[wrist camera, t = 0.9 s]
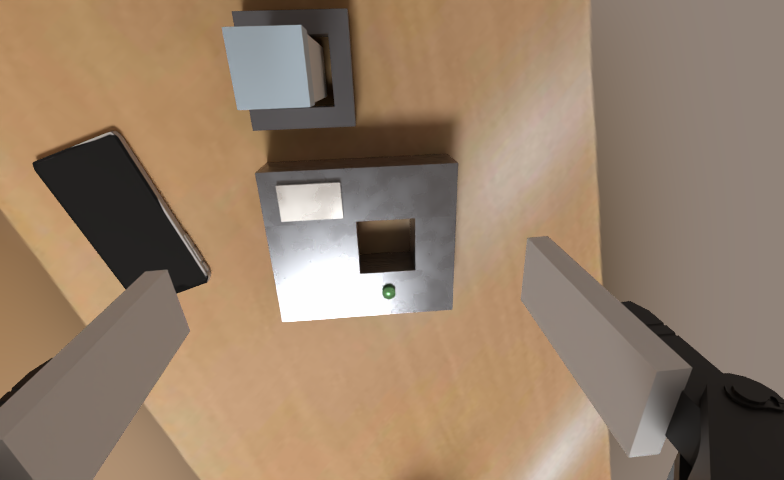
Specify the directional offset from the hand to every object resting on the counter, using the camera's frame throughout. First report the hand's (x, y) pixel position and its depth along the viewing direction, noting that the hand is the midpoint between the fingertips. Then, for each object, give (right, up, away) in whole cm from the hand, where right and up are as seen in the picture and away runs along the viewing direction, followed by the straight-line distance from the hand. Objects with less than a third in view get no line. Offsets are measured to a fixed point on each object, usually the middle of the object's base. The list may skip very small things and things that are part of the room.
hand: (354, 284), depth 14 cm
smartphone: (-22, +3, +20) cm, 30 cm away
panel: (-1, +3, +22) cm, 22 cm away
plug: (-6, +15, +16) cm, 23 cm away
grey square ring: (-6, +15, +16) cm, 23 cm away
